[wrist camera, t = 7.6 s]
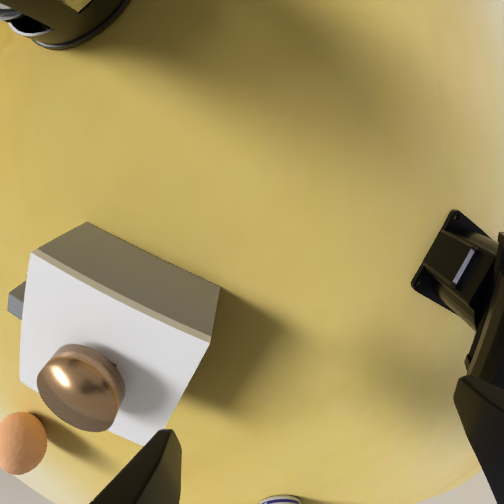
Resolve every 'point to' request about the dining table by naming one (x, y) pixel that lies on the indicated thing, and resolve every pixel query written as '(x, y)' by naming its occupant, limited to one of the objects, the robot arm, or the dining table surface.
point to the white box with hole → (116, 320)
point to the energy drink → (280, 500)
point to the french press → (60, 20)
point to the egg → (21, 443)
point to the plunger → (82, 387)
